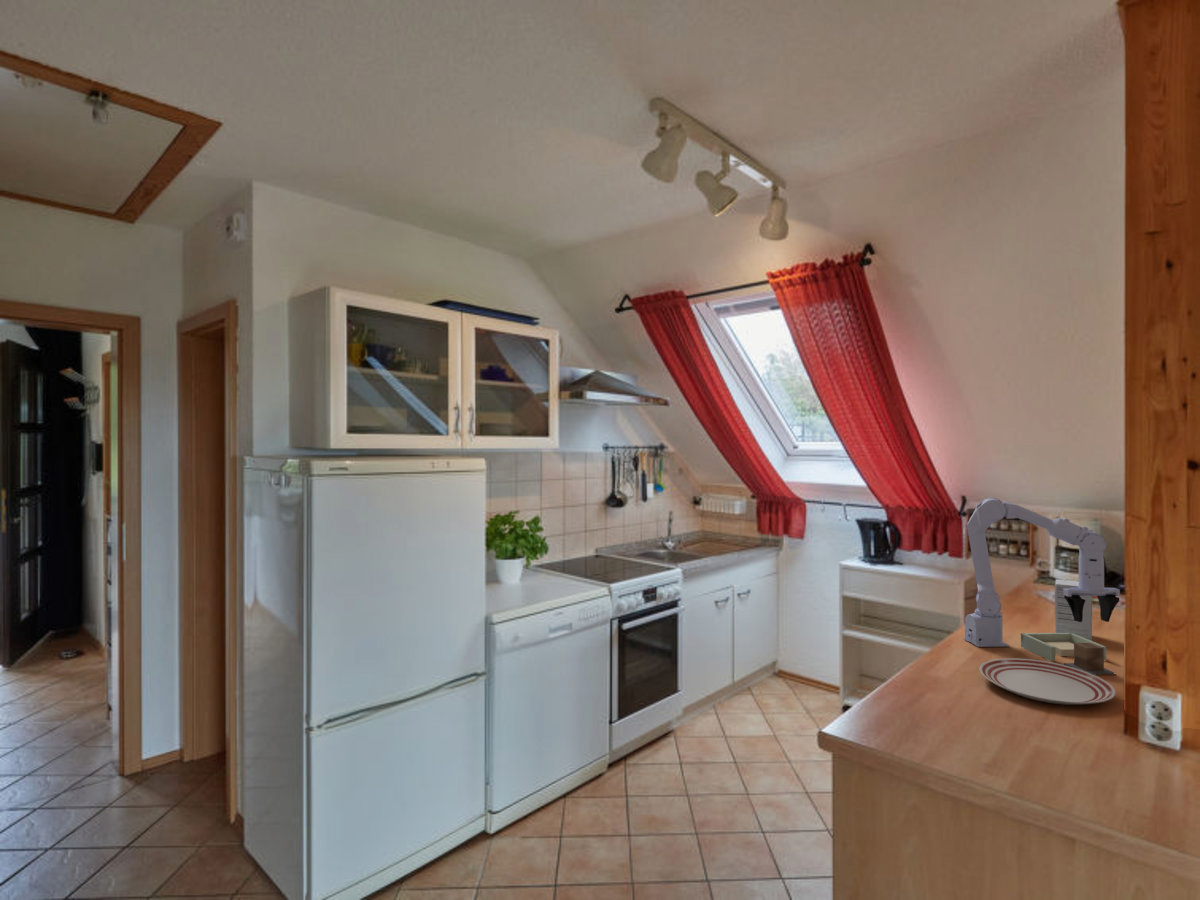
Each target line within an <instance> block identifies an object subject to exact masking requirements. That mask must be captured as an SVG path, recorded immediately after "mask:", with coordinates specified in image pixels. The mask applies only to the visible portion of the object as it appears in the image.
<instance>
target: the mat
mask: <svg viewBox="0 0 1200 900" xmlns="http://www.w3.org/2000/svg"><path fill="white" fill-rule="evenodd" d="M1063 665H1065V666H1069V667H1073V668H1076V669H1079V670H1082V671H1085V672H1088V673H1090V674H1093V675H1094V674H1096V675H1095V676H1100V675H1099V674H1114V673H1115V672H1114V671H1112V670H1109V669H1107V668H1105V667H1104V671H1086V670H1084V669H1082V668H1080V667H1077V666H1075V665H1074V662H1063ZM1097 674H1098V675H1097Z"/></svg>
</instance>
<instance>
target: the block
mask: <svg viewBox="0 0 1200 900" xmlns="http://www.w3.org/2000/svg"><path fill="white" fill-rule="evenodd" d="M1073 663H1074V665H1075V666H1077V667H1080V668H1082V669H1084V670H1086V671H1104V668H1105V665H1104V664H1105V661H1104V648H1102V647H1100V646H1097V645H1095V644H1092V643H1074V656H1073Z"/></svg>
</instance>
